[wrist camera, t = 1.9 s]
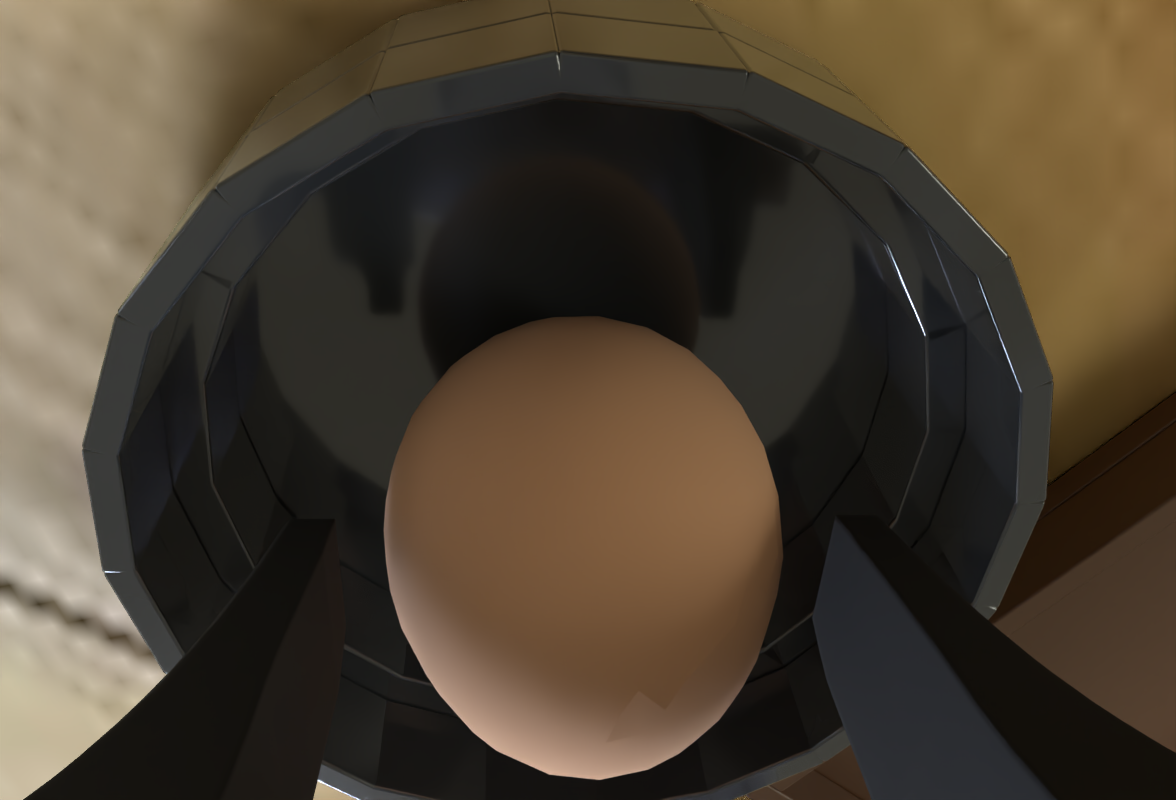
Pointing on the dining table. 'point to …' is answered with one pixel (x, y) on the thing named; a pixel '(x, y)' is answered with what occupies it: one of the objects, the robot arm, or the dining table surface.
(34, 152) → the dining table surface
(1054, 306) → the dining table surface
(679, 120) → the dark grey mixing bowl
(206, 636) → the robot arm
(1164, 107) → the dining table surface
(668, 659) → the egg
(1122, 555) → the tray
